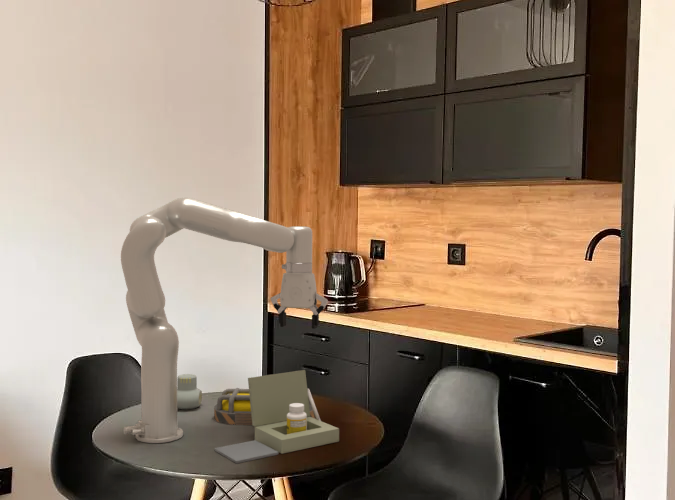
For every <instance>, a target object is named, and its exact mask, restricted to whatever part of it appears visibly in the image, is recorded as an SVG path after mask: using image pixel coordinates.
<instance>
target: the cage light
mask: <svg viewBox="0 0 675 500" xmlns="http://www.w3.org/2000/svg"><path fill="white" fill-rule="evenodd" d="M308 400H309V397H308ZM213 409H214V410H213V412H214V413H213V414H214V417H213V420H214V419H215V420H216V421H215V420H214V421H215V422H217V423H219V424H224V425H233V424H234V425H235V424H236V426H237V425H241V426H242V425H243V426H252V415H251V405H250V395H249V388H240V387H236V388H226V389H224V390H223V391H222V394H221V395H220V396H219V397H218V398H217V402H216V404H215V405H214V408H213ZM309 410H310V416H308V417H312V418H315V419H316V416H315V414H314V411H313V408H312V405H311V403H310V400H309ZM281 422H284V421H281ZM276 423H279V422H276ZM270 424H273V423H270ZM265 425H268V424H265Z"/></svg>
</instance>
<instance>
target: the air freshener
mask: <svg viewBox="0 0 675 500" xmlns="http://www.w3.org/2000/svg"><path fill="white" fill-rule="evenodd" d="M197 387H198V386H197V375H196V374H193V373H185V374H179V375H177V410H178V409H179V410H193V409H197V408H198V407H200V406H201V404H202V400H203V391H202V390H201V389H200V388H197Z"/></svg>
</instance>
